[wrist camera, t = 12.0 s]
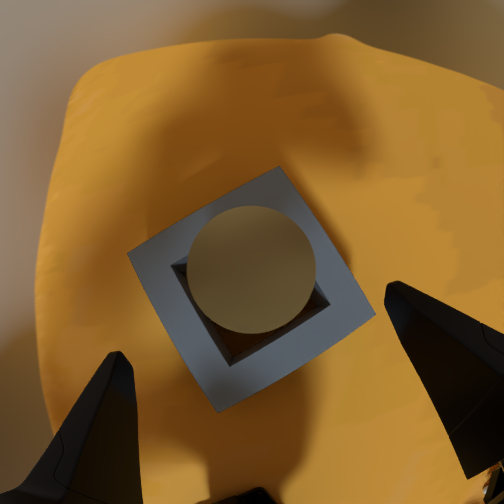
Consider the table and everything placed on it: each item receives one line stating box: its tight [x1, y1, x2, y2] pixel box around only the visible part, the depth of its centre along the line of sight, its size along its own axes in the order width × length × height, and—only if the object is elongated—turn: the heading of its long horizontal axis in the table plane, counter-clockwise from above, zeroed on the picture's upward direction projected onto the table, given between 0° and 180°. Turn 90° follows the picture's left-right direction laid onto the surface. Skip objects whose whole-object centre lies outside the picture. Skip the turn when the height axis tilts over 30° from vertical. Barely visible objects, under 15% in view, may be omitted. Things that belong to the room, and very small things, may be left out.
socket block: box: [127, 166, 376, 413], centre depth 19 cm, size 11×11×4 cm
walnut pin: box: [187, 206, 316, 334], centre depth 15 cm, size 4×4×11 cm
